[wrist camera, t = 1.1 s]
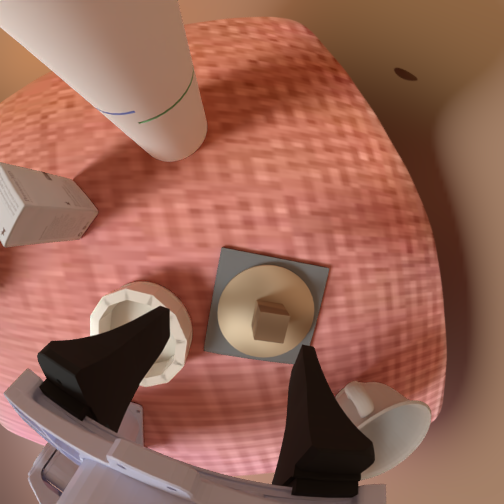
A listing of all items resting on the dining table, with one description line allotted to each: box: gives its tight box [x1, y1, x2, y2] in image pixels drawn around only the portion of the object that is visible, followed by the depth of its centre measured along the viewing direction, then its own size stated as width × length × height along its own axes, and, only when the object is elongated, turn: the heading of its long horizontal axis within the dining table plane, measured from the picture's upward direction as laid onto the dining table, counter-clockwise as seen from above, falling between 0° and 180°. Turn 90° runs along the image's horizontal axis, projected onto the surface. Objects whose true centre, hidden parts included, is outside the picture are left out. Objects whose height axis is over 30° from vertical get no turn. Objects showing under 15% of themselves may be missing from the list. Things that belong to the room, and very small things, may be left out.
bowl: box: [90, 281, 193, 387], centre depth 25 cm, size 10×10×4 cm
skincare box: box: [0, 162, 98, 247], centre depth 19 cm, size 6×4×12 cm
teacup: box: [335, 381, 431, 480], centre depth 24 cm, size 12×15×10 cm
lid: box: [217, 265, 314, 358], centre depth 25 cm, size 10×10×5 cm
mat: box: [204, 247, 329, 364], centre depth 27 cm, size 11×11×1 cm
